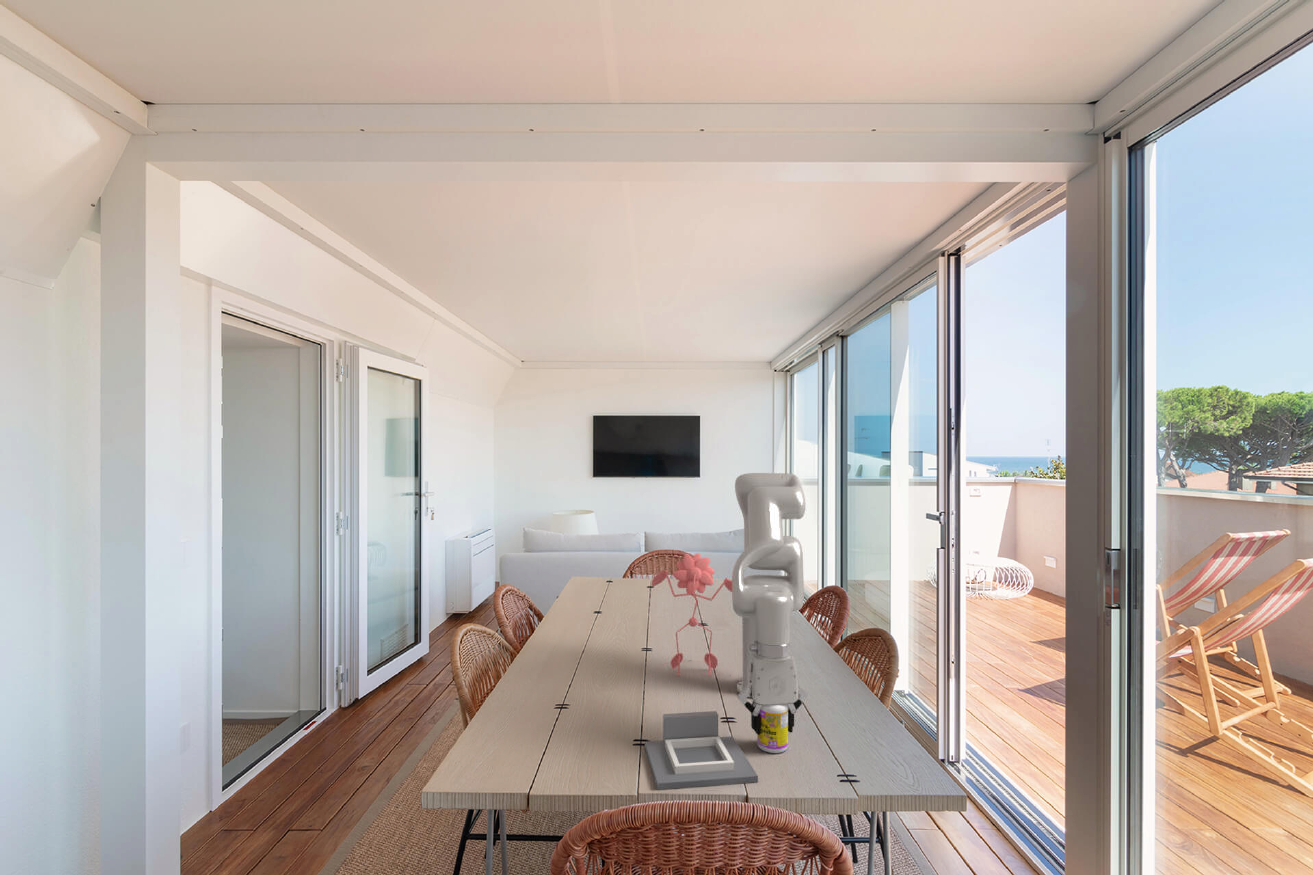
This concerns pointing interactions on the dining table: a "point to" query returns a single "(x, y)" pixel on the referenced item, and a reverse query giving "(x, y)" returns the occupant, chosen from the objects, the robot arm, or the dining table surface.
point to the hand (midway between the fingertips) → (772, 730)
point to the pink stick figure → (693, 578)
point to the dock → (696, 754)
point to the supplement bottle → (773, 728)
